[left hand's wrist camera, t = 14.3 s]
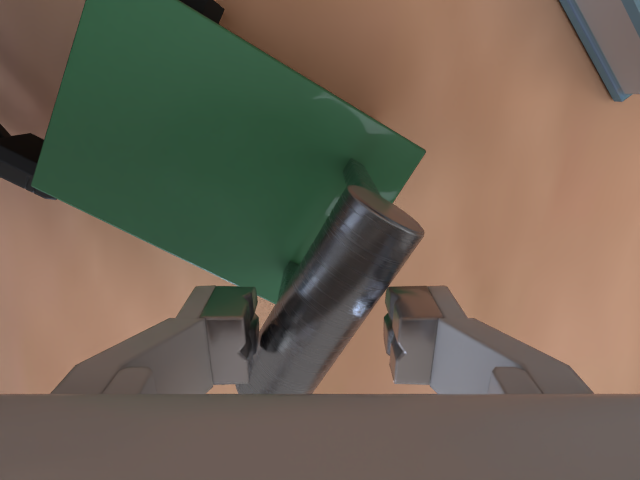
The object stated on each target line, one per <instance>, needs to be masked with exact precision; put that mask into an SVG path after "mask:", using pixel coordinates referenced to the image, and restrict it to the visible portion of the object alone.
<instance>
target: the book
mask: <svg viewBox="0 0 640 480" xmlns="http://www.w3.org/2000/svg"><path fill="white" fill-rule="evenodd" d="M559 1H560V3H561V4H562V6H563V8H564V10H565V12H566V14H567V15H568V17H569V19H570V21H571V23H572V25H573V27H574V28H575V30H576V32H577V34H578V36H579V38H580V39H581V41H582V43H583V45H584V47H585V49H586V51H587V52H588V54H589V56H590V58H591V60H592V62H593V63H594V65H595V67H596V69H597V71H598V73H599V74H600V76H601V78H602V80H603V82H604V84H605V86H606V87H607V89H608V91H609V93H610V95H611V97H612V98H613V100H614V101H618V102H622V101H624V100H625V99H627V98H628V97H629V96H631V95H632V94H640V0H559Z"/></svg>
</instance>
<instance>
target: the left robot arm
mask: <svg viewBox="0 0 640 480" xmlns="http://www.w3.org/2000/svg"><path fill="white" fill-rule="evenodd" d="M257 303H258V301H257V291H256V288H255V287H239V286H196V287H195V288H194V290H193V291H192V293H191V294H190V296H189V298H188V299H187V301H186V302H185V304H184V305H183V307H182V309H181V310H180V312H179V313H178V315H177V316H176V318H169V319H167V320H165V321H163V322H161V323H159V324H157V325H155V326H153V327H151V328H149V329H147V330H145V331H143V332H141V333H139V334H137V335H135V336H133V337H131V338H129V339H127V340H125V341H123V342H121V343H119V344H117V345H115V346H113V347H111V348H109V349H107V350H105V351H103V352H101V353H99V354H97V355H95V356H93V357H91V358H89V359H87V360H85V361H83V362H81V363H79V364H77V365H75V366H74V368H73V369H72V370H71V371H70V372H69V373H68V374H67V375H66V377H65V378H64V379H63V380H62V381H61V382H60V383H59V384H58V386H57V387H56V388H55V389H54V390H53V391H52V392H51V393H50V394H0V480H640V394H594V393H593V392H592V391H591V389H590V388H589V387H588V386H587V385H586V384H585V383H584V382H583V381H582V379H581V378H580V377H579V376H578V375H577V374H576V373H575V372H574V370H573V369H572V368H571V367H570V366H569V365H567V364H565V363H563V362H561V361H559V360H557V359H555V358H553V357H551V356H549V355H547V354H545V353H543V352H541V351H539V350H537V349H535V348H533V347H531V346H529V345H527V344H525V343H523V342H521V341H519V340H517V339H515V338H513V337H511V336H509V335H507V334H505V333H503V332H501V331H499V330H497V329H495V328H493V327H491V326H489V325H487V324H485V323H483V322H481V321H479V320H477V319H475V318H467V316H466V315H465V313H464V312H463V310H462V308H461V307H460V305H459V304H458V302H457V301H456V299H455V298H454V296H453V295H452V293H451V292H450V290H449V289H448V287H446V286H402V287H388V288H387V290H386V297H385V304H386V307H387V311H388V313H387V314H386V316H385V317H384V344H385V349H386V353H387V354H388V355H390V363H389V365H390V369H391V373H392V377H393V380H394V384H423V385H430V387H431V388H432V389H433V390H434V391H436V392H437V393H438V394H206V393H207V392H208V391H209V390H210V389H211V388H212V387H213V385H220V384H249V381H250V377H251V373H252V369H253V355H254V354H256V352H257V348H258V340H259V317H258V316H257V315H256V314H255V310H256V306H257Z"/></svg>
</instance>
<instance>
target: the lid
mask: <svg viewBox="0 0 640 480" xmlns="http://www.w3.org/2000/svg"><path fill="white" fill-rule="evenodd" d="M425 153H426V151H425V150H424V149H423V148H421V147H419V146H418V145H416V144H414V143H413V142H411V141H410V140H408V139H406V138H405V137H403V136H401V135H400V134H398V133H396V132H395V131H393V130H391V129H390V128H388V127H387V126H385V125H383V124H382V123H380V122H378V121H377V120H375V119H373V118H372V117H370V116H368V115H367V114H365V113H363V112H362V111H360V110H359V109H357V108H355V107H354V106H352V105H350V104H349V103H347V102H345V101H344V100H342V99H340V98H339V97H337V96H336V95H334V94H332V93H331V92H329V91H327V90H326V89H324V88H322V87H321V86H319V85H317V84H316V83H314V82H312V81H311V80H309V79H308V78H306V77H304V76H303V75H301V74H299V73H298V72H296V71H294V70H293V69H291V68H289V67H288V66H286V65H284V64H283V63H281V62H280V61H278V60H276V59H275V58H273V57H271V56H270V55H268V54H266V53H265V52H263V51H261V50H260V49H258V48H257V47H255V46H253V45H252V44H250V43H248V42H247V41H245V40H243V39H242V38H240V37H238V36H237V35H235V34H233V33H232V32H230V31H229V30H227V29H225V28H224V27H222V26H220V25H219V24H217V23H215V22H214V21H212V20H210V19H209V18H207V17H206V16H204V15H202V14H201V13H199V12H197V11H196V10H194V9H192V8H191V7H189V6H187V5H186V4H184V3H182V2H181V1H179V0H86V1H85V5H84V8H83V11H82V15H81V18H80V21H79V25H78V28H77V32H76V35H75V38H74V42H73V45H72V48H71V52H70V55H69V58H68V62H67V65H66V69H65V72H64V75H63V79H62V82H61V85H60V89H59V92H58V95H57V99H56V102H55V106H54V109H53V112H52V116H51V119H50V122H49V126H48V129H47V132H46V136H45V139H44V143H43V146H42V149H41V153H40V156H39V159H38V163H37V166H36V170H35V173H34V176H33V180H32V183H31V186H32V187H34V188H36V189H38V190H40V191H42V192H44V193H46V194H48V195H50V196H52V197H54V198H56V199H59V200H61V201H63V202H65V203H67V204H69V205H71V206H73V207H75V208H77V209H79V210H81V211H83V212H85V213H88V214H90V215H92V216H94V217H96V218H98V219H100V220H102V221H104V222H106V223H108V224H110V225H112V226H114V227H116V228H119V229H121V230H123V231H125V232H127V233H129V234H131V235H133V236H135V237H137V238H139V239H141V240H143V241H145V242H148V243H150V244H152V245H154V246H156V247H158V248H160V249H162V250H164V251H166V252H168V253H170V254H172V255H174V256H177V257H179V258H181V259H183V260H185V261H187V262H189V263H191V264H193V265H195V266H197V267H199V268H201V269H203V270H206V271H208V272H210V273H212V274H214V275H216V276H218V277H220V278H222V279H224V280H226V281H228V282H230V283H232V284H235V285H237V286H239V287H255V288H256V291H257V296H259V297H261V298H264V299H266V300H268V301H270V302H272V303H274V304H276V305H275V306H274V308H273V310H272V311H271V313H270V315H269V316H268V318H267V319H266V321H265V323H264V324H263V326H262V328H261V329H260V331H259V340H258V348H257V352H256V354H254V355H253V369H252V373H251V377H250V381H249V384H235V385H236V389H237V391H238V394H312V393H313V392H314V390H315V389H316V387H317V386H318V385H319V383H320V382H321V380H322V379H323V378H324V376H325V375H326V373H327V372H328V371H329V369H330V368H331V366H332V365H333V363H334V362H335V361H336V359H337V358H338V356H339V355H340V354H341V352H342V351H343V349H344V348H345V347H346V345H347V344H348V342H349V341H350V339H351V338H352V337H353V335H354V334H355V332H356V331H357V330H358V328H359V327H360V325H361V324H362V323H363V321H364V320H365V318H366V317H367V316H368V314H369V313H370V311H371V310H372V308H373V307H374V306H375V304H376V303H377V301H378V300H379V299H380V297H381V296H382V294H383V293H384V292H385V290H386V289H387V287H388V286H389V285H390V283H391V282H392V280H393V279H394V277H395V276H396V275H397V273H398V272H399V270H400V269H401V268H402V266H403V265H404V263H405V262H406V261H407V259H408V258H409V256H410V255H411V254H412V252H413V251H414V249H415V248H416V246H417V245H418V244H419V242H420V241H421V239H422V238H423V237H424V230H423V229H422V227H421V226H420V225H419V224H418V223H417V222H416V221H415V220H414V219H413V218H412V217H411V216H409V215H408V214H407V213H405V212H404V211H403V210H401V209H400V208H398V207H397V206H395V205H394V204H392V203H393V202H394V200H395V199H396V197H397V196H398V194H399V193H400V191H401V190H402V188H403V186H404V185H405V183H406V182H407V180H408V179H409V177H410V176H411V174H412V173H413V171H414V170H415V168H416V167H417V165H418V164H419V162H420V161H421V159H422V158H423V156H424V154H425Z"/></svg>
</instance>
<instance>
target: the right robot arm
mask: <svg viewBox="0 0 640 480" xmlns="http://www.w3.org/2000/svg"><path fill="white" fill-rule="evenodd" d="M179 1H181V2H182V3H184V4H186V5H187V6H189V7H191V8H192V9H194V10H196V11H197V12H199V13H201V14H202V15H204V16H206V17H207V18H209V19H210V20H212V21H214V22H215V23H217V24H219V21H220V19H221V16H222V14H223V12H224V8H222V7H221V6H220V5H219V4H217V3H216V2H215V1H214V0H179ZM43 143H44V140H43V139H41V138H39V137H37V136H35V135H33V134H31V133H28V134H22V135H16V136H11V135H10V134H9V133H8V132H7V131H6V130H5V129H4V127H3V126H2V125H1V124H0V177H1V178H3V179H5V180H7V181H9V182H12V183H14V184H16V185H18V186H20V187H22V188H25V189H26V190H28V191H30V192H34V194H37V195H39V196H41V197H43V198H45V199H53V200H57V199H56V198H54V197H52V196H50V195H48V194H46V193H44V192H42V191H40V190H38V189H36V188H34V187H32V186H31V183H32V180H33V176H34V173H35V170H36V166H37V163H38V159H39V156H40V153H41V149H42V146H43Z"/></svg>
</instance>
